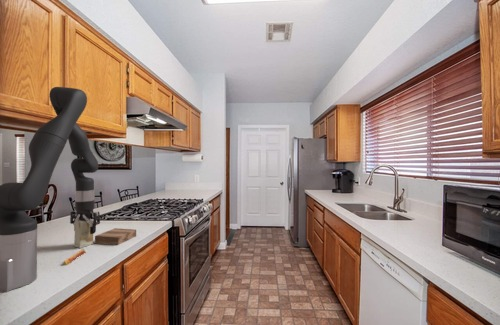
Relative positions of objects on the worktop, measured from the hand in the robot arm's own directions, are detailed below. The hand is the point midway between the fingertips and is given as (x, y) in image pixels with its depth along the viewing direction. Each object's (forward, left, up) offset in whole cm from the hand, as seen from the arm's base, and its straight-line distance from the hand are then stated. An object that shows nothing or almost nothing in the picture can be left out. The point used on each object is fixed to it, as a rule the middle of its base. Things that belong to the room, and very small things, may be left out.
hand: (85, 233), depth 106 cm
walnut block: (+10, -9, -6) cm, 15 cm away
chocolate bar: (-13, -9, -7) cm, 17 cm away
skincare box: (0, 0, -6) cm, 6 cm away
